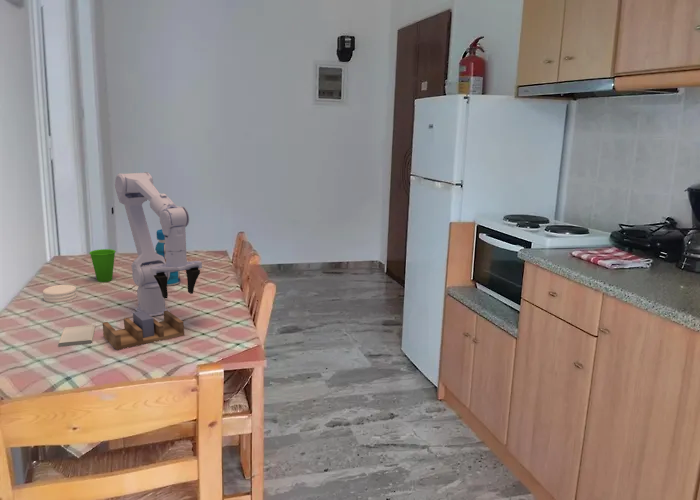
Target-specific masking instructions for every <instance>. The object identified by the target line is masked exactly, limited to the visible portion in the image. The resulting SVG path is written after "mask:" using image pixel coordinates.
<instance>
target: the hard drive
mask: <svg viewBox="0 0 700 500" xmlns="http://www.w3.org/2000/svg"><path fill="white" fill-rule="evenodd" d="M95 331H96V325H95V324H88V325H86V324H85V325H77V326H76V325H75V326H66V327H63V329H62V332H61V335H60V338H59V341H58V343H57V347H58V348H61V347H62V348H63V347H71V346H79V345H80V346H81V344H82V345H91V343H92V344H93V341H94V337H95Z"/></svg>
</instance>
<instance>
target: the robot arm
mask: <svg viewBox="0 0 700 500" xmlns="http://www.w3.org/2000/svg"><path fill="white" fill-rule="evenodd" d="M114 189H115V191H116V194H117V199H118V202H119V203H120V204H122V205H124V208H125V212H126V216H127V219H128V223H129V226H130V230H131V231H130V232H131V234H132V238H133V240H134V241H133V242H134V245H135V248H136V251H137V257H136V258H135V259H134V261H132V263H131V271H132V273H131V274H132V275H131V277H132V279H133V284H135V286H137V292H136V298H137V307H135V308H134V310H135V312H138V311H145V312H146V313H147V314H149V315H150V316H151V317H156V316H160V315H162V316H163V315H164V311H167V310H168V311H169V312H170V313H171V311H170V310H169V309H167V308H166V299H168V295H169V294H168V286H167V281H168V279H169V277H170V272H175V271H180V272H183V271H185V273H186V274H185V275H186V279H187V293H189V294H190V295H193V294H194V290H195V285H196V282H197V280H198V277H199V276H200V274H201V270H200V269H203V262H202V261H201V260H193V261H192V260H191V261H189V260H188V259H187V257H188V256H187V240H186V227H188V226H189V223H190V215H189V212H188V210H187V209H186V207H185V206H180V205H177V204H175V202H174V201H173V200H171V198H170V197H168V195H167V194H166V193H160V192H159V190H158V189H157V188H156V186H154V179H153V176H152V175H151V173H149V172H146V171H145V172H135V173H134V172H133V173H121V172H120V173H118V174H117V175H116V177H115V180H114ZM147 201H149V206H150V208H151V210H152V211H153V212H154V213H155V214H156V215H157V216H158V217H159V222H160V225H161V229H162V232H163V234H164V235H165V253H166V262H165V259H164V257H163V256H161V255H159V254H157V253H156V250H155V246H154V244H153V241H152V240H153V239H152V237H151V233H150V230H149V226H148V223H147V222H148V221H147V219H146V215H145V210H144V208H143V204H144V203H145V202H147Z"/></svg>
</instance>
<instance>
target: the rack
mask: <svg viewBox="0 0 700 500" xmlns="http://www.w3.org/2000/svg"><path fill="white" fill-rule="evenodd" d="M168 310H169V309H167V311H164V314H163V320H162V321H158V320H156V319H155V318H154V316H152V318H153V321H154V336H150V337H145V338H143V331H142V330H141V329H140V328H139V327H138V326H137V325H136V324H135V323H133V320H132V319H130V318H129V317H126V318H123V325H124V327H123V328H121V329H117V330H116V329H115V328H114V327H113V326H112V325H111V324H110V323H109V322H108V321H105V322H102V333H103V334H102V336H103V338H105V340H106V342H108V343H109V344H110V345H111V346H112V348H114V349H115V350H116V351H120V350H123V348H124V349H128V348H127V347H129V348H132V346H134V347H137V346H136V345H138V346H142V345H141V344H143V345H146V343H147V344H150V342H152V343H155V342H154V341H156V342H160V341H159V340H161V341H164V340H163V339H165V340H169V338H170V339H173V338H174V339H175V338H178V337H183V336H185V326H184V322H185V321H183V320H181V319H180V318H178V316H176V315H175V314H173V313H172V312H171V311H170V310H169V311H170V312H169V311H168ZM148 315H149V314H148ZM119 349H120V350H119Z"/></svg>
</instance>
